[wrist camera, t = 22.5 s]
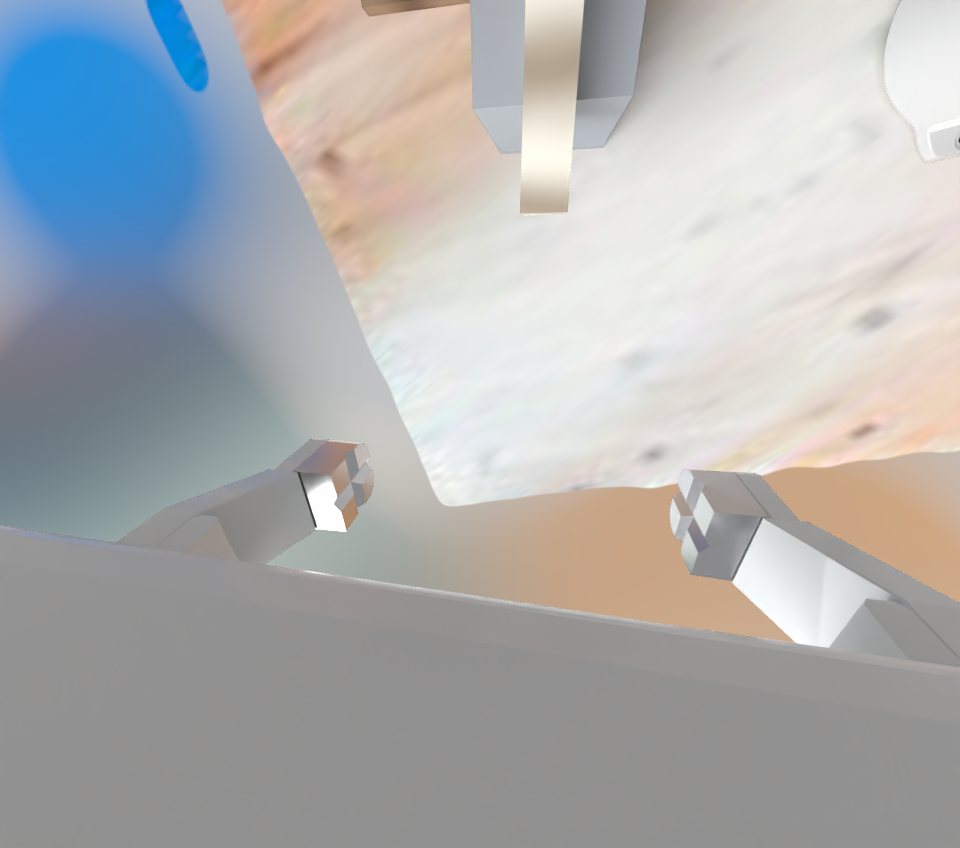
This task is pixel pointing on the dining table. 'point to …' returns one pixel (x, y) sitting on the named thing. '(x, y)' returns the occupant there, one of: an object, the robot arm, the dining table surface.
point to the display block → (601, 76)
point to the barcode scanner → (549, 103)
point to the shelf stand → (404, 5)
